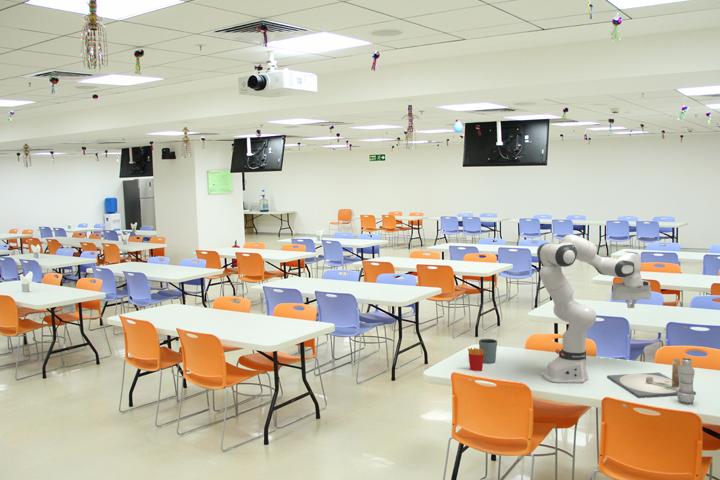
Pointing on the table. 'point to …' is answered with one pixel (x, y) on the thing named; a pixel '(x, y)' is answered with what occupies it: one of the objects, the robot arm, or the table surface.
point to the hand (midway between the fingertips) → (630, 307)
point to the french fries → (476, 359)
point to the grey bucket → (488, 350)
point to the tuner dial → (645, 384)
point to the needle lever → (674, 376)
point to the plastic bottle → (686, 381)
